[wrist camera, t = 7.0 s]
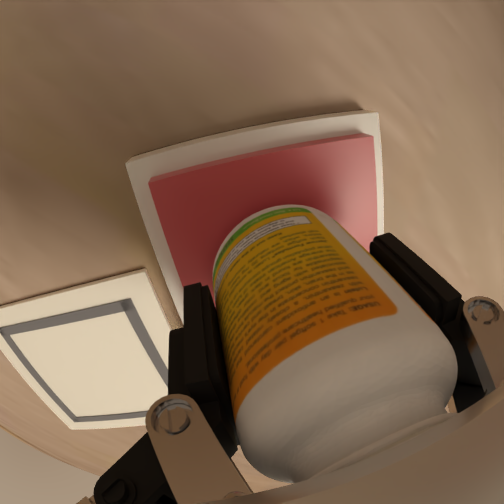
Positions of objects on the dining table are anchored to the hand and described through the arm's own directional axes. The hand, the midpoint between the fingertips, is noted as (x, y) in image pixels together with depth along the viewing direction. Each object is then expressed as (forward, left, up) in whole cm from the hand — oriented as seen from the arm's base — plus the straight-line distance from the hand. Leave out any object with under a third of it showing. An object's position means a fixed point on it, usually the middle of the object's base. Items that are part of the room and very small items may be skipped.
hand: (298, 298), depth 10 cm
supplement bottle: (0, 0, -2) cm, 2 cm away
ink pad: (0, 0, -5) cm, 5 cm away
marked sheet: (+12, +6, -5) cm, 14 cm away
